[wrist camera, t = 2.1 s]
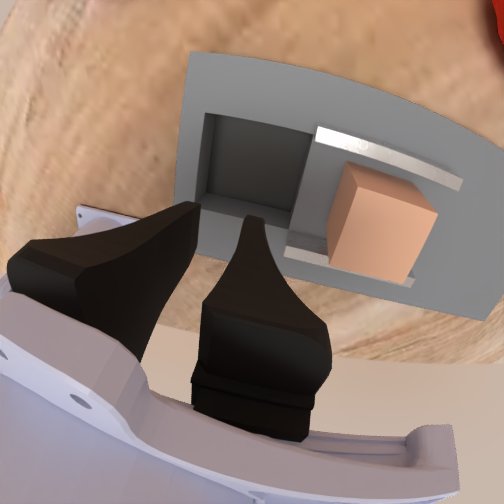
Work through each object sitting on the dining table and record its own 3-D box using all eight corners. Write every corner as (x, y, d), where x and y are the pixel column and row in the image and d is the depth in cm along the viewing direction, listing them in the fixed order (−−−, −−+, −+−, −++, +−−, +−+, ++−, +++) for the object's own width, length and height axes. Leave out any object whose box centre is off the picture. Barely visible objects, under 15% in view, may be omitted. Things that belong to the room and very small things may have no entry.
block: (387, 242, 19) (402, 283, 15) (325, 225, 19) (328, 265, 15) (412, 182, 16) (438, 213, 12) (346, 160, 16) (358, 186, 13)
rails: (404, 270, 20) (410, 287, 18) (285, 240, 20) (283, 256, 18) (449, 168, 15) (463, 179, 13) (316, 121, 15) (318, 126, 14)
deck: (473, 300, 23) (484, 321, 21) (185, 228, 25) (171, 247, 22) (538, 176, 15) (557, 190, 13) (205, 54, 17) (190, 51, 14)
